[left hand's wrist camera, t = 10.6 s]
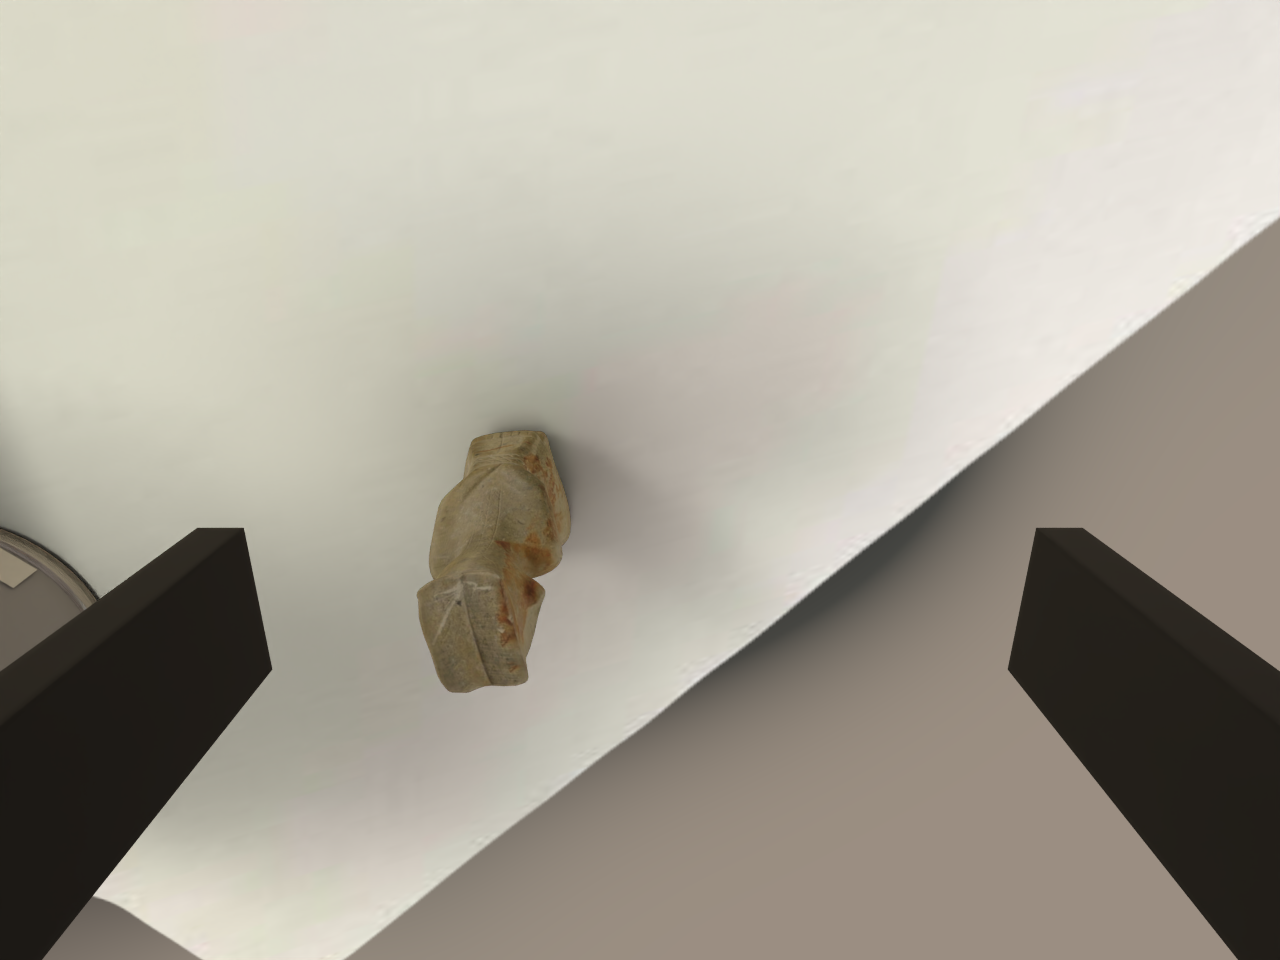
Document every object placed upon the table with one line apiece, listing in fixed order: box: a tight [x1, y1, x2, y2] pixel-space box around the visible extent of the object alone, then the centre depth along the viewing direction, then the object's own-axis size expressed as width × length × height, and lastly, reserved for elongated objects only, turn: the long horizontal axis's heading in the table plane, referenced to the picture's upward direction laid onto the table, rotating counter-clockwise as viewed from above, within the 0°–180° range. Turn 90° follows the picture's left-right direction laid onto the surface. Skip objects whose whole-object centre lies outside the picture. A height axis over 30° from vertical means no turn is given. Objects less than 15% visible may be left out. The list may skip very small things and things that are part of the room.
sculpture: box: [417, 430, 571, 693], centre depth 34 cm, size 6×7×15 cm
